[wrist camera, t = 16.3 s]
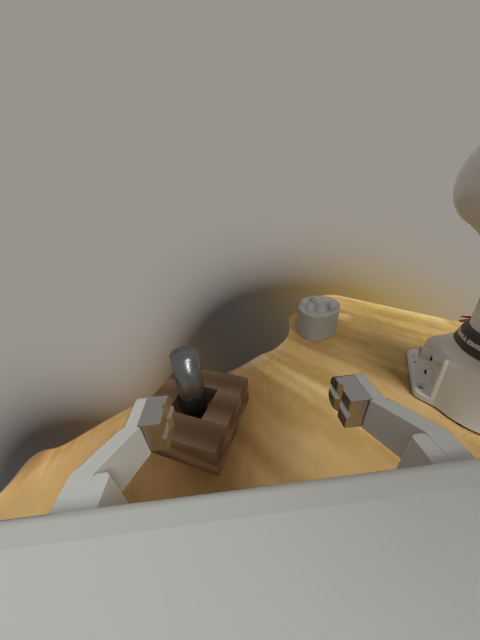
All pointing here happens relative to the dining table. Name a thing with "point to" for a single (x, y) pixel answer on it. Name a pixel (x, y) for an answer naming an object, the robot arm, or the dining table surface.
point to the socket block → (206, 421)
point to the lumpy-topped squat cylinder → (317, 317)
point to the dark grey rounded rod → (189, 380)
